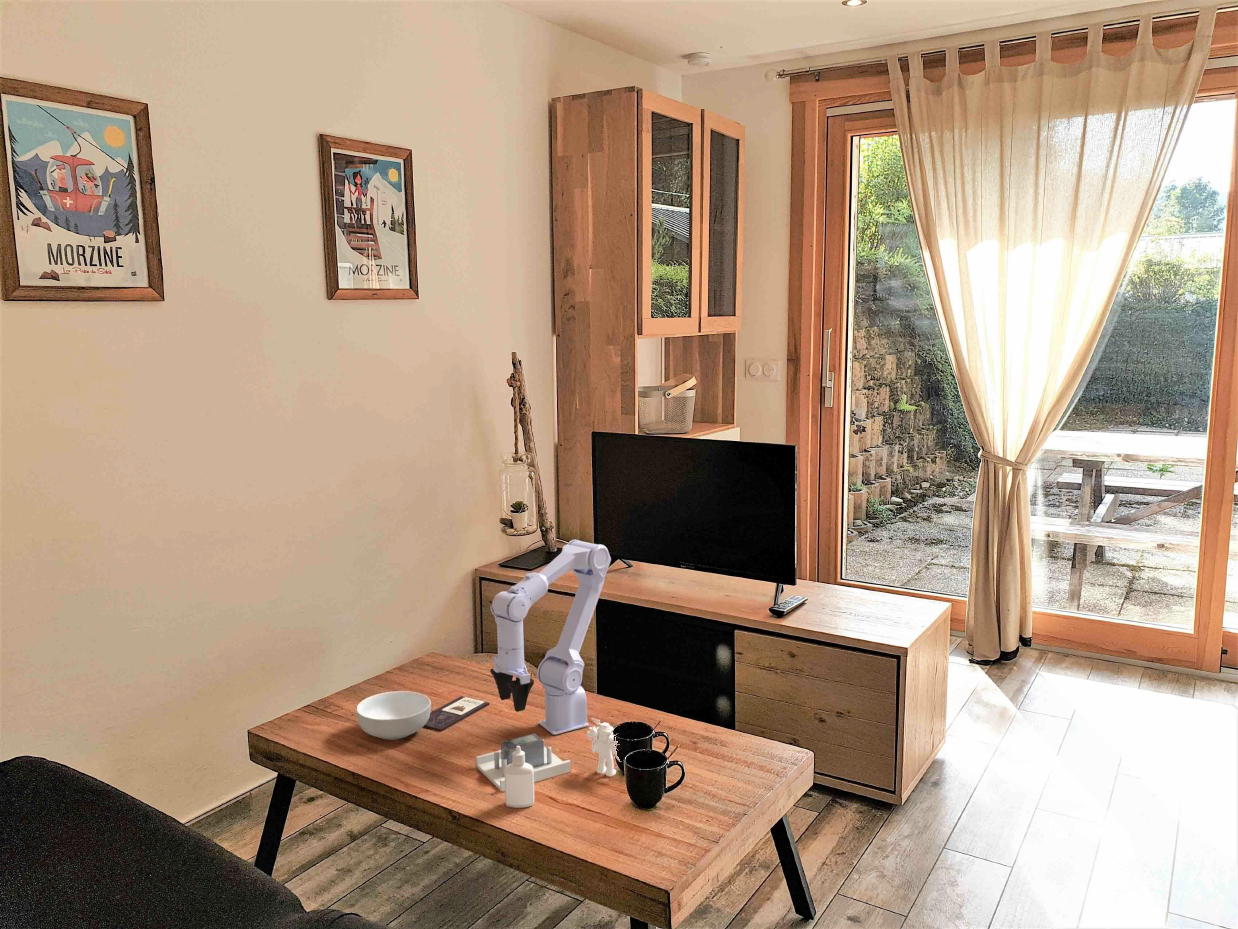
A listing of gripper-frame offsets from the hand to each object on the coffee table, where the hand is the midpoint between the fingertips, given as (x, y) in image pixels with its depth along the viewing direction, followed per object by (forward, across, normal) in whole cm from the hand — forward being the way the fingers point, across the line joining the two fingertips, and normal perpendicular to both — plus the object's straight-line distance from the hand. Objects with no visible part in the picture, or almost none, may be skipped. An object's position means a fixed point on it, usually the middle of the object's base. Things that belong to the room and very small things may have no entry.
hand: (512, 704), depth 212 cm
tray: (+10, +11, -3) cm, 15 cm away
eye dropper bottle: (+10, +24, -10) cm, 28 cm away
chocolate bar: (+11, -25, -5) cm, 27 cm away
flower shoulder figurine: (+10, +22, +11) cm, 27 cm away
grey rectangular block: (+9, +11, -3) cm, 15 cm away
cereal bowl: (+10, -22, -20) cm, 31 cm away
